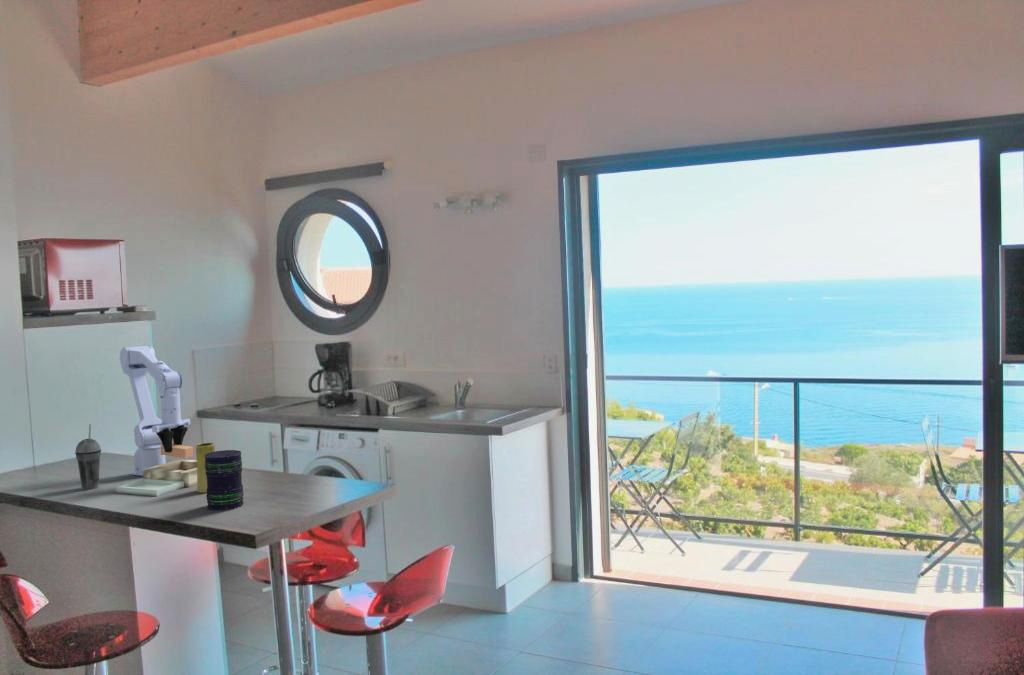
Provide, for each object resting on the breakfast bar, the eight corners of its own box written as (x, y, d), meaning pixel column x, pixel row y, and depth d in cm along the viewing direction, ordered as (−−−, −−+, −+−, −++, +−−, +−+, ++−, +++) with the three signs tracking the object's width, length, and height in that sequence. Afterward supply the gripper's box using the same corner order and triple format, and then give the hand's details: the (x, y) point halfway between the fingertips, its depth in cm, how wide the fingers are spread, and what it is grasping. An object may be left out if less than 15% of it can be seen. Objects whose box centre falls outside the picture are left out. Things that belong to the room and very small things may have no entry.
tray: (116, 492, 243) (116, 486, 243) (144, 484, 253) (144, 478, 253) (156, 496, 237) (156, 490, 237) (184, 487, 247) (183, 481, 247)
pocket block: (143, 483, 254) (142, 469, 254) (180, 472, 269) (180, 459, 268) (189, 487, 247) (188, 472, 247) (224, 475, 262) (224, 461, 262)
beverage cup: (72, 489, 248) (68, 426, 247) (93, 484, 255) (90, 422, 254) (86, 491, 245) (82, 427, 244) (108, 486, 251) (104, 423, 250)
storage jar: (201, 506, 224) (198, 454, 223) (234, 499, 231) (231, 448, 230) (216, 513, 217) (213, 458, 216) (250, 505, 223) (247, 453, 223)
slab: (160, 454, 256) (160, 445, 256) (168, 452, 259) (168, 443, 259) (185, 458, 253) (185, 449, 252) (193, 456, 256) (193, 447, 256)
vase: (210, 493, 239) (208, 446, 238) (192, 492, 240) (190, 446, 239) (222, 488, 244) (219, 442, 244) (204, 487, 246) (201, 442, 245)
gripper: (163, 412, 247) (166, 455, 248) (196, 406, 261) (199, 446, 262) (145, 412, 250) (148, 454, 251) (179, 405, 263) (182, 446, 264)
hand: (173, 450), depth 256 cm, fingers closed on slab, 3 cm apart
